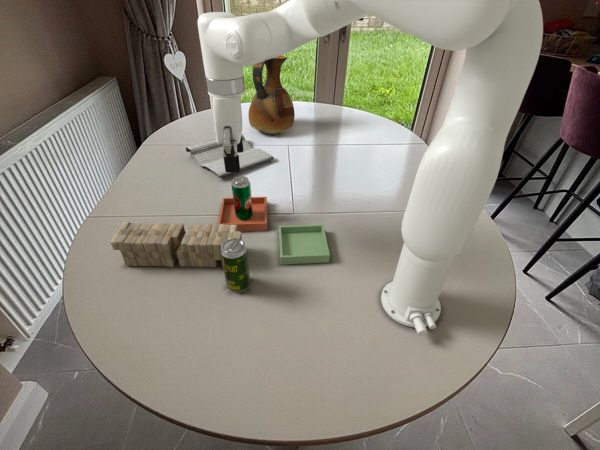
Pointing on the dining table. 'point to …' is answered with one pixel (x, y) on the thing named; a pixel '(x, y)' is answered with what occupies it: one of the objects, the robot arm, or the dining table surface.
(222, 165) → the mat
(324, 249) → the green tray
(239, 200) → the soda can
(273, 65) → the ceramic pitcher
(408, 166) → the dining table surface
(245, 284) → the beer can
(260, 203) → the terracotta tray
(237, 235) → the block tower
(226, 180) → the dining table surface
